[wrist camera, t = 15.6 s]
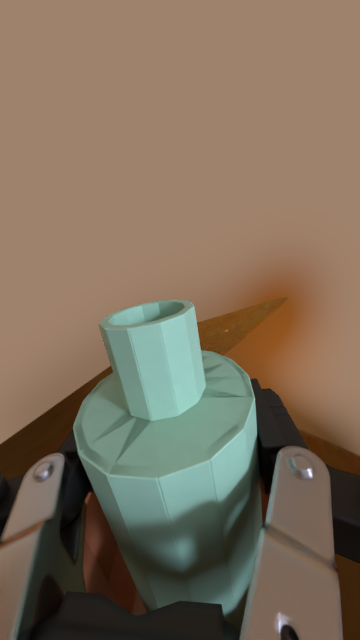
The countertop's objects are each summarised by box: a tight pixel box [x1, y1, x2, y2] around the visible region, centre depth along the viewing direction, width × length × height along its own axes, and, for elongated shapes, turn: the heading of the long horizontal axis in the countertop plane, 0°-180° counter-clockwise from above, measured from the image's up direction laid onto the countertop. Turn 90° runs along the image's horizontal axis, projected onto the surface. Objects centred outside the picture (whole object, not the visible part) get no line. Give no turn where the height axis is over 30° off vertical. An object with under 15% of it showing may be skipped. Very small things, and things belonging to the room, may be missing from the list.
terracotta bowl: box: [83, 472, 337, 615], centre depth 10 cm, size 11×11×6 cm
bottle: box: [73, 300, 263, 630], centre depth 8 cm, size 6×6×14 cm
